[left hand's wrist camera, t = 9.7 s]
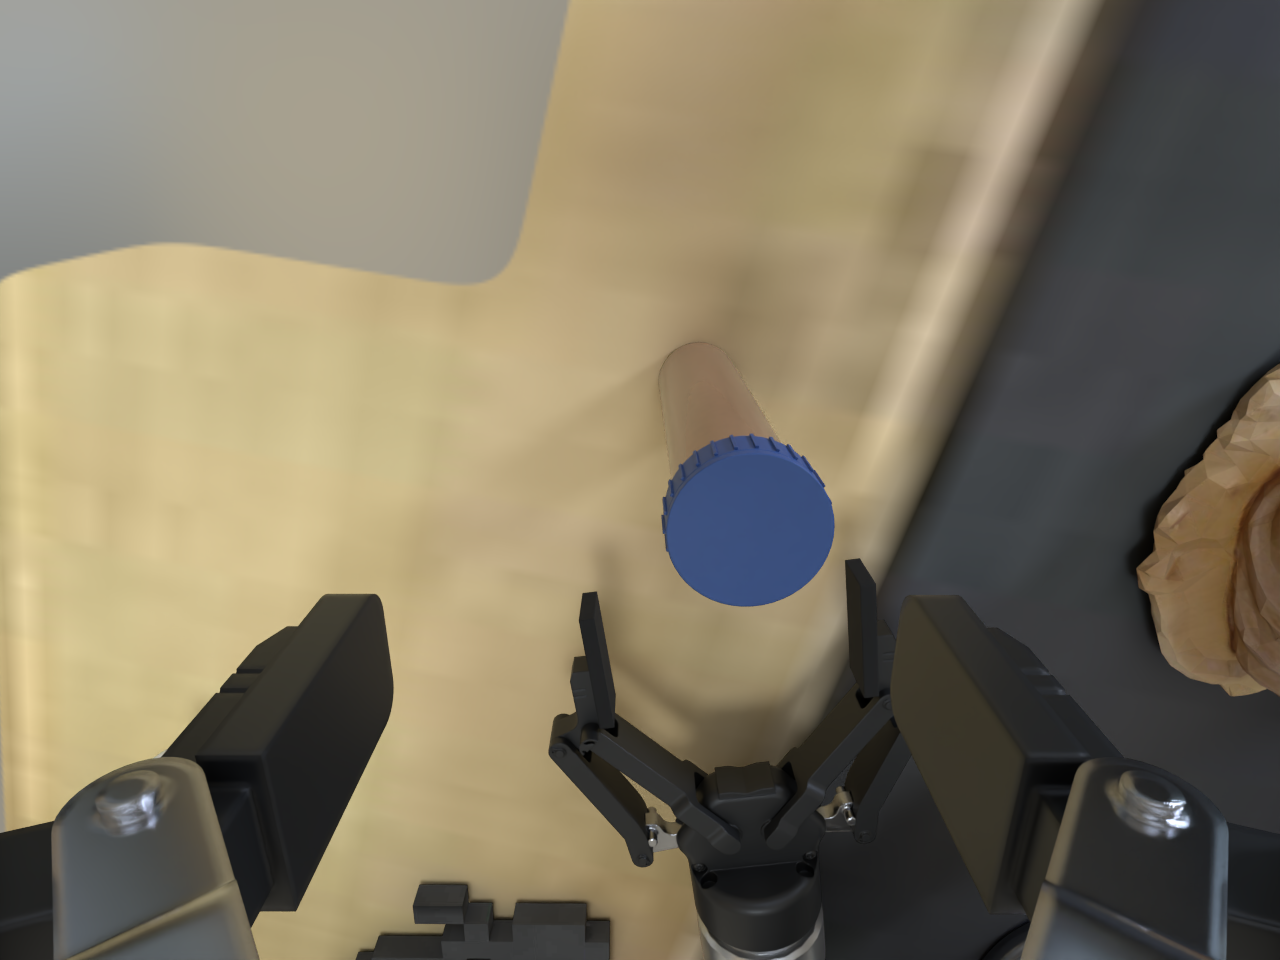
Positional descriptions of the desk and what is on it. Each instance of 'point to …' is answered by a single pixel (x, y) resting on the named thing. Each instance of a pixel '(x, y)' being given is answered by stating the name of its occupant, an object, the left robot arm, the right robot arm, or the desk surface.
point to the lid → (747, 521)
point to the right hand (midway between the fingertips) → (722, 587)
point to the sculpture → (1224, 554)
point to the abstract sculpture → (495, 931)
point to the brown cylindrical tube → (705, 402)
